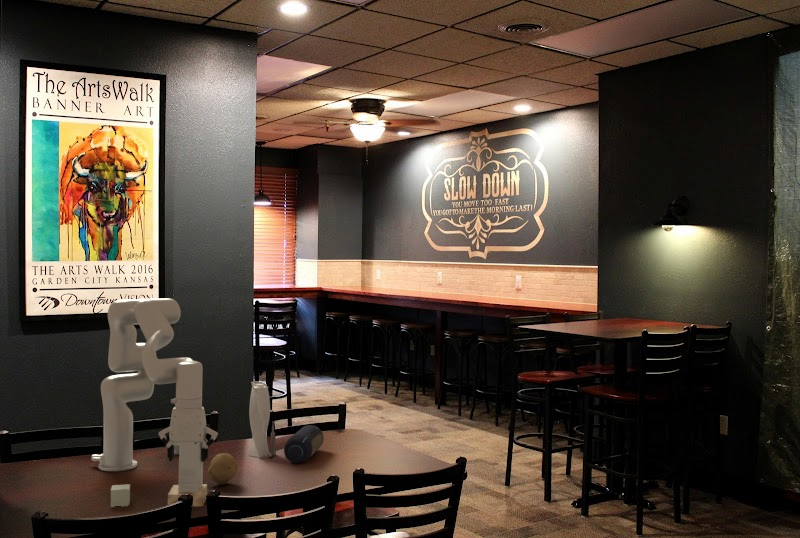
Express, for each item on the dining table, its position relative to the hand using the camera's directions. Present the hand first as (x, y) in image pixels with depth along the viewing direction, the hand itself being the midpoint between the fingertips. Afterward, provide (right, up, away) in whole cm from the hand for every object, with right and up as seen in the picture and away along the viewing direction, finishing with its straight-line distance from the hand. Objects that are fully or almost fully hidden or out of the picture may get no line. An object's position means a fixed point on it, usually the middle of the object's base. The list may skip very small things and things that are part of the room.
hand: (187, 460), depth 234 cm
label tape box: (-18, -11, +58) cm, 62 cm away
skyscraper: (+12, -12, +54) cm, 57 cm away
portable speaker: (+28, -12, +53) cm, 61 cm away
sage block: (-19, -12, -4) cm, 23 cm away
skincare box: (+1, -9, 0) cm, 9 cm away
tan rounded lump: (+7, -12, +17) cm, 22 cm away
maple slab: (0, -13, 0) cm, 13 cm away
